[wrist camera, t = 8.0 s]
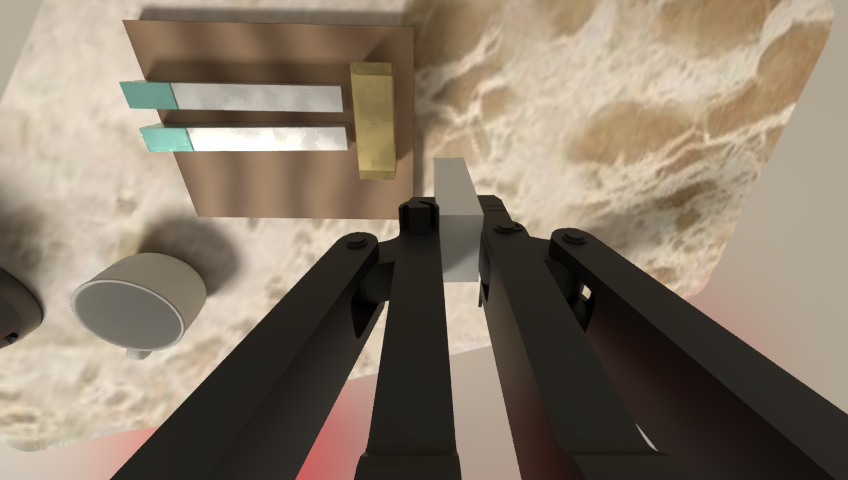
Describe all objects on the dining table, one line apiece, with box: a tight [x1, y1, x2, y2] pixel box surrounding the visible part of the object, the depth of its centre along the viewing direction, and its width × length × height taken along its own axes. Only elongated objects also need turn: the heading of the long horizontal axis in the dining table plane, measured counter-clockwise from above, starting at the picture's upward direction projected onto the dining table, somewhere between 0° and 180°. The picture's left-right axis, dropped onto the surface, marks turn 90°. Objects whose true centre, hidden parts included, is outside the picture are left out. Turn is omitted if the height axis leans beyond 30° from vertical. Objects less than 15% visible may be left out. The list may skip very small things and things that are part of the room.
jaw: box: [139, 122, 353, 151], centre depth 29 cm, size 18×2×3 cm, turn 90°
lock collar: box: [350, 62, 399, 180], centre depth 27 cm, size 3×9×5 cm, turn 179°
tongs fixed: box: [119, 80, 349, 112], centre depth 28 cm, size 21×4×3 cm, turn 89°
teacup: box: [70, 253, 206, 360], centre depth 38 cm, size 14×11×8 cm
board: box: [122, 20, 414, 220], centre depth 31 cm, size 24×18×2 cm
